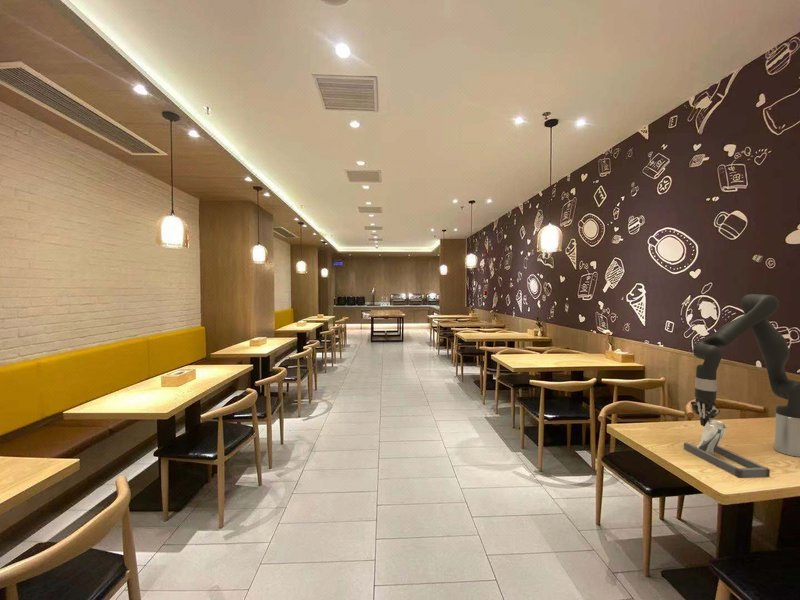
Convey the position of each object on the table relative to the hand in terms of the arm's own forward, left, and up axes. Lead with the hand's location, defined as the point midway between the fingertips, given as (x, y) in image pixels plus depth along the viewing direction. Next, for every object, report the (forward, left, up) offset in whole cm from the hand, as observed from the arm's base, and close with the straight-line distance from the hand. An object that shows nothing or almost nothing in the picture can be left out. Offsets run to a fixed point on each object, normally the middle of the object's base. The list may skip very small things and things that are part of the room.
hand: (704, 425), depth 165 cm
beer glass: (0, +1, -11) cm, 11 cm away
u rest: (0, +9, -12) cm, 15 cm away
